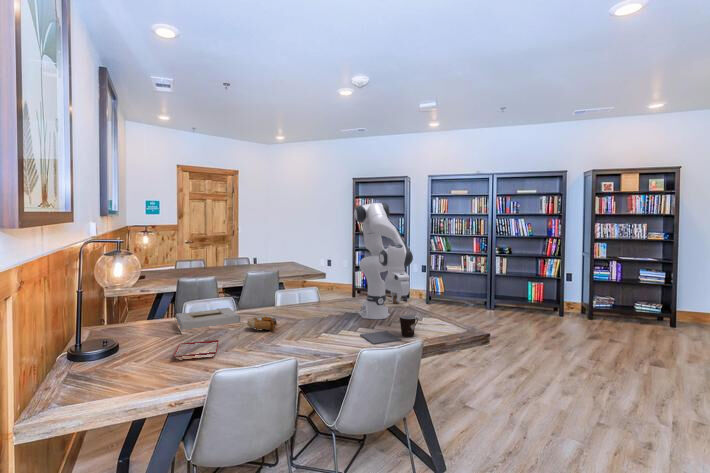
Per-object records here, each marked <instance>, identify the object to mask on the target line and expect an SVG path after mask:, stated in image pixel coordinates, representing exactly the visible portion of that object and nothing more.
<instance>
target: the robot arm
mask: <svg viewBox="0 0 710 473" xmlns="http://www.w3.org/2000/svg"><path fill="white" fill-rule="evenodd" d="M390 210H391V208H390V207H389V205H388V204H387V202H373V203H372V202H371V203H367V204H363V205H358V206H356V207H355V208H354V213H353V216H354V219H355V221H356V222H358V223H362V234H363V240H364V246H365V248H366V249H367V250H368V251H369V252H370V255H369V256H366V257H363V258H361V259H360V261H359V269H360V271H361V272H362V273H363V274H364V275H365V278H366V281H367V294H366V300H365V301H364V302H363V303H362V304H361V306H360V310H359V311H357V312H358V313H357V314H359V316H360V317H361V318H362V319H369V320H383V319H388V317H389V316H391V313H389V307H385V306H384V302H386V301H387V294H386V291H388V292H389V291H390V296H391V301H393V295H397V298H396V302H400V301H401V298H402V297H403V296H408V295H409V294H410V282H409V280H410V275H409V274H407V272H406V268H407V267H409V266H410V265H411V264H412V263H413V260H414V258H413V257H414V256H413V252H412V251H411V249H410V248H409V247H408V246H407V245H408V244H406V242H405V241H404V238H403V237H402V236H403V235H402V234H401V233H400V230H399V229H398V228H397V227H396V226H395V225H394V224H393V223H392V222H391V221H390V220H389V217H390V215H391V214H390ZM382 237H385V238H388V239H391V241H392V242H393V243H390V244H388V247H387V248H385V246H384V243H383V238H382ZM405 267H406V268H405ZM384 272H387V274H386V276H385V278H384V280H383V278H382V276H381V273H384Z"/></svg>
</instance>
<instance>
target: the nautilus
mask: <svg viewBox="0 0 710 473" xmlns="http://www.w3.org/2000/svg"><path fill="white" fill-rule="evenodd" d="M246 324H247V326H248V327H249V328H251V329H254V328H256V329H254V330H255V331H257V332H259V331H260V330H257V329H265V330H266V331H272V334H274V332H278V333H279V330H278V327H277V326H279V324H278V320H277V319H276V318H275V317H274V316H273V315H269V314H268V315H267V314H261V315H257V316H254V317H252V318H249V319H248V321H247V323H246ZM272 329H274V330H272ZM265 330H264V331H265Z"/></svg>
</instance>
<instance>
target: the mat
mask: <svg viewBox="0 0 710 473" xmlns="http://www.w3.org/2000/svg"><path fill="white" fill-rule="evenodd" d="M359 336H360V337H361V338H363V339H364V340H366V341H367V342H369V343H370V344H372V345H381V344H386V343H392V342H393V343H394V342H402V338H400V337H398V336H397V335H395V334H393V333H392V332H390V331H389V330H382V331H374V332H368V333H360V334H359Z"/></svg>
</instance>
